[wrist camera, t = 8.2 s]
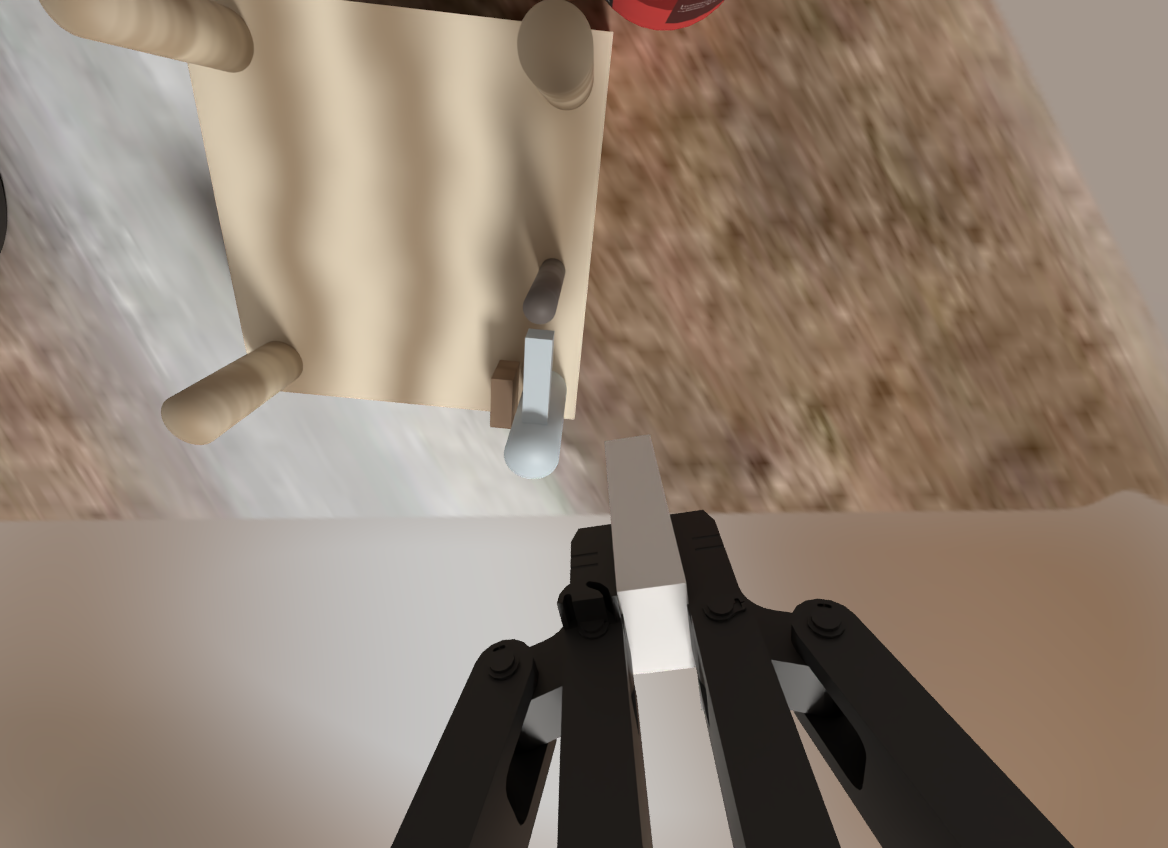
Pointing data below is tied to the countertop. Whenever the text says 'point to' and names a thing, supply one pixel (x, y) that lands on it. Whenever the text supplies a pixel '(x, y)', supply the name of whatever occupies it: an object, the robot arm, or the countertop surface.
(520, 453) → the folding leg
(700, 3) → the canned food
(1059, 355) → the countertop surface
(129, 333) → the countertop surface
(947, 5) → the countertop surface
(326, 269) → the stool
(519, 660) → the robot arm
